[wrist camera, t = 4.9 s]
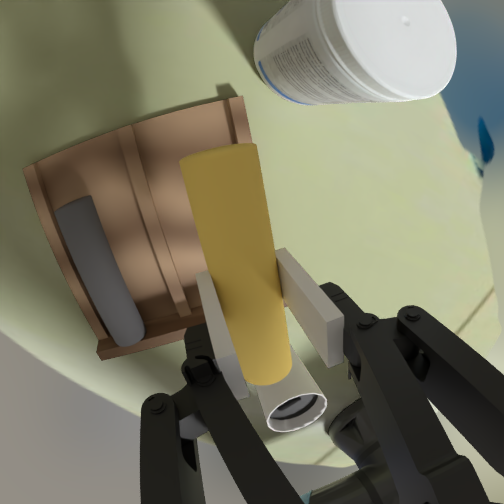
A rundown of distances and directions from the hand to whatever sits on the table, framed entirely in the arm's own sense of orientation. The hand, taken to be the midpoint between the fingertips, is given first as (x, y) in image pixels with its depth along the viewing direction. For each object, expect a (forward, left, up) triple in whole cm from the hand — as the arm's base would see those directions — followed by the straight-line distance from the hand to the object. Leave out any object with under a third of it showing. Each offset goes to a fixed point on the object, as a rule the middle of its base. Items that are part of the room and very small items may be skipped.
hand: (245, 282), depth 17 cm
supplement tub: (+13, -11, -13) cm, 21 cm away
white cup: (-19, -2, -13) cm, 23 cm away
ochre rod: (0, +1, -1) cm, 2 cm away
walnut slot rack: (0, +5, -13) cm, 14 cm away
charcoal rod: (-2, +11, -12) cm, 17 cm away
